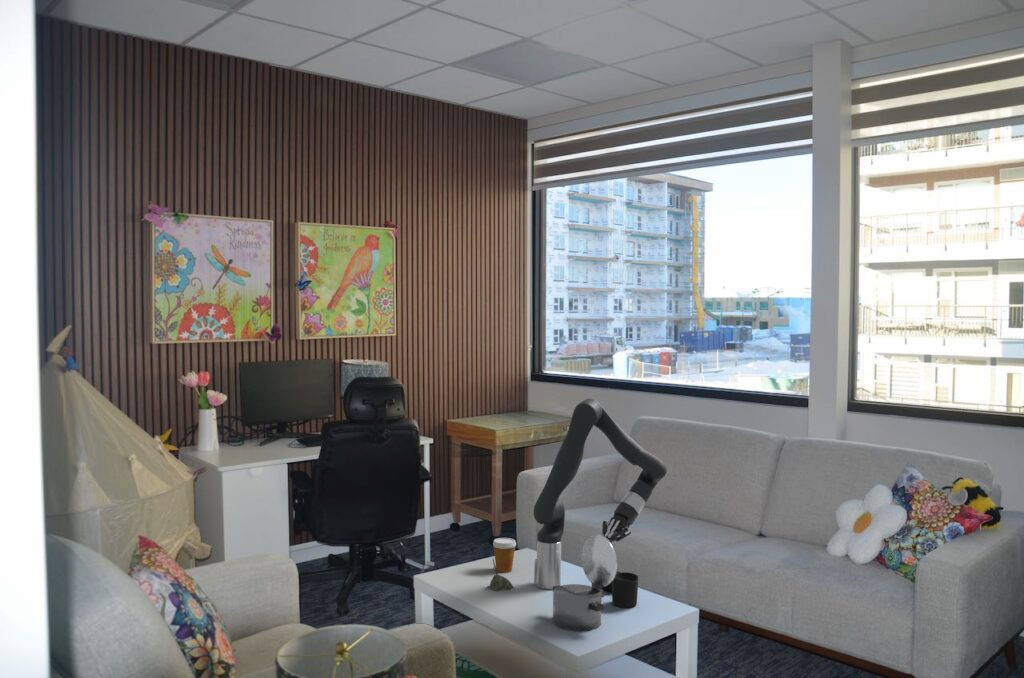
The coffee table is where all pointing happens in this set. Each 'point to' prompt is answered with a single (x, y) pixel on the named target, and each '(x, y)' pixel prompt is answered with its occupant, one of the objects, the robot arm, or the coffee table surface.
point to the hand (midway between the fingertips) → (602, 548)
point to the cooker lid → (599, 560)
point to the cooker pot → (577, 607)
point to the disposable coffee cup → (504, 554)
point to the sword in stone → (499, 582)
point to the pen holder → (625, 590)
